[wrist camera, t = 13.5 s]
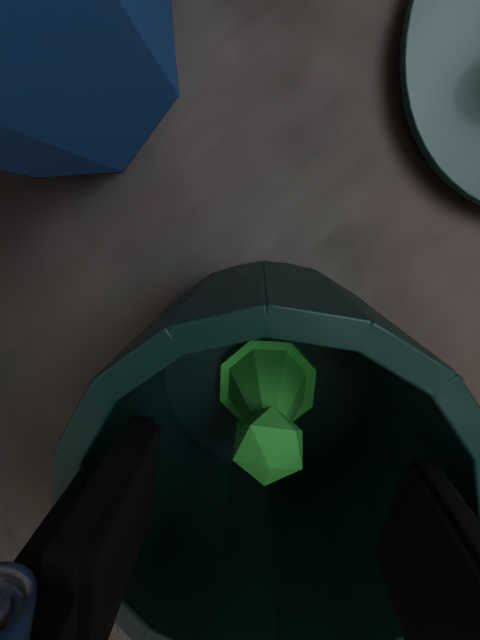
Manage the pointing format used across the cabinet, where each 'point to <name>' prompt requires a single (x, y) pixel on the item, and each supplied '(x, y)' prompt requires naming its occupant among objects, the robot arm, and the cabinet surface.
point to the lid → (444, 88)
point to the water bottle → (82, 83)
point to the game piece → (268, 405)
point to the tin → (286, 493)
